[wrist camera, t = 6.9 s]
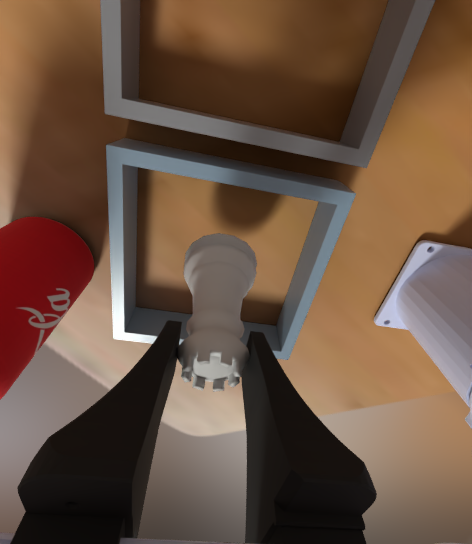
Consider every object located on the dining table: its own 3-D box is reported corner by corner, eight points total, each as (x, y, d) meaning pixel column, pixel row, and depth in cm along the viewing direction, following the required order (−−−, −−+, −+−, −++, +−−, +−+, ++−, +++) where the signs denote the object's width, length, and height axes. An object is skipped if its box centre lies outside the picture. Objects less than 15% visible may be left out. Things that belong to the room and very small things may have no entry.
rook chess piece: (189, 285, 20) (167, 401, 13) (180, 228, 17) (146, 344, 11) (255, 285, 19) (262, 402, 13) (257, 228, 17) (268, 344, 10)
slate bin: (338, 180, 19) (356, 193, 16) (282, 333, 26) (288, 359, 23) (124, 138, 17) (105, 144, 15) (125, 313, 24) (113, 338, 21)
